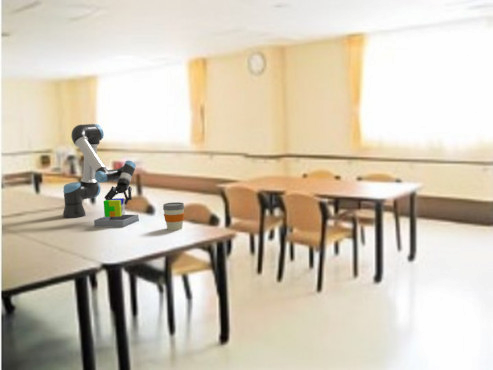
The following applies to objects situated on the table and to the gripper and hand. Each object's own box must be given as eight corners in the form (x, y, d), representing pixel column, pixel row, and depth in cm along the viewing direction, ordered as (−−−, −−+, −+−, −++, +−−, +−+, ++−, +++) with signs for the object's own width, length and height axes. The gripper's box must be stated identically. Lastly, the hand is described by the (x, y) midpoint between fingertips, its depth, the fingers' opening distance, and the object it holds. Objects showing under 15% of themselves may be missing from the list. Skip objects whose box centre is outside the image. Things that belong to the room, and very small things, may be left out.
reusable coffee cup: (181, 231, 312) (180, 205, 310) (161, 230, 314) (159, 205, 312) (188, 226, 324) (186, 202, 322) (168, 226, 326) (167, 202, 324)
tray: (94, 226, 335) (94, 220, 334) (111, 220, 354) (110, 214, 354) (123, 227, 329) (123, 220, 329) (138, 220, 349) (138, 214, 348)
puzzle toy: (124, 213, 342) (123, 198, 341) (120, 216, 332) (119, 200, 331) (109, 214, 343) (108, 198, 342) (104, 216, 333) (103, 201, 332)
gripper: (142, 184, 350) (133, 211, 337) (110, 184, 356) (100, 211, 344) (138, 177, 344) (128, 204, 331) (106, 177, 351) (95, 204, 338)
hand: (114, 208), depth 337 cm, fingers closed on puzzle toy, 11 cm apart
